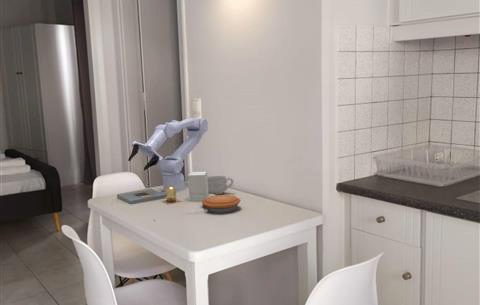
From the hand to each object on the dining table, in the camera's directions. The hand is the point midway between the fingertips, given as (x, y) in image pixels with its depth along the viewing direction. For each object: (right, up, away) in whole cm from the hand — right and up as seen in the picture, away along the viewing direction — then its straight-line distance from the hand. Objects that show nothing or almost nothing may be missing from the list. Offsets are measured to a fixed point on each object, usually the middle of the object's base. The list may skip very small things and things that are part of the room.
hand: (136, 164), depth 205 cm
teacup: (+34, -14, +16) cm, 40 cm away
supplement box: (+26, -16, +2) cm, 31 cm away
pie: (+36, -18, -10) cm, 42 cm away
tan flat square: (+15, -17, -1) cm, 23 cm away
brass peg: (+15, -15, -1) cm, 21 cm away
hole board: (+1, -16, +7) cm, 18 cm away
